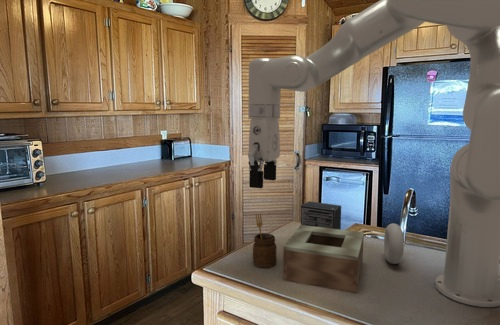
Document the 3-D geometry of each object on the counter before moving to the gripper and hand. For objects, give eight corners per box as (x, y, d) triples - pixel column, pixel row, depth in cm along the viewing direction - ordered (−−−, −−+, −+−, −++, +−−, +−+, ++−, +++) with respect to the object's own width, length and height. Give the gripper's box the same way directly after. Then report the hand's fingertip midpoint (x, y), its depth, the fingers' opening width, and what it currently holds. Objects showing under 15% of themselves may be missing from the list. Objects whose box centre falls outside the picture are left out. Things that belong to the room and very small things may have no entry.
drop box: (362, 262, 90) (363, 232, 89) (356, 292, 76) (357, 256, 74) (300, 253, 96) (300, 224, 95) (283, 279, 81) (283, 246, 80)
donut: (404, 271, 85) (406, 231, 84) (388, 270, 86) (390, 230, 84) (395, 255, 95) (398, 218, 93) (382, 254, 96) (384, 217, 94)
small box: (341, 239, 107) (342, 204, 105) (334, 246, 101) (335, 210, 100) (308, 232, 112) (309, 200, 111) (299, 239, 107) (300, 204, 105)
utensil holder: (260, 270, 86) (260, 222, 84) (248, 260, 92) (247, 215, 90) (281, 265, 89) (281, 218, 87) (267, 256, 95) (268, 212, 93)
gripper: (267, 113, 76) (266, 192, 78) (289, 112, 91) (287, 178, 94) (234, 113, 78) (234, 189, 81) (261, 112, 94) (260, 176, 97)
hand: (263, 183), depth 87 cm, fingers open, 9 cm apart
